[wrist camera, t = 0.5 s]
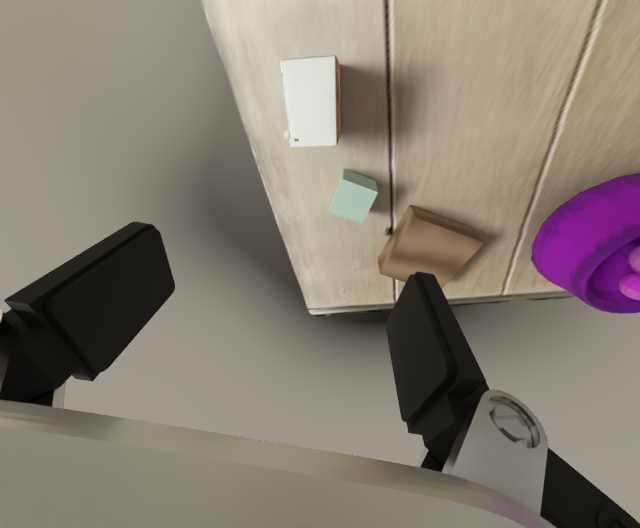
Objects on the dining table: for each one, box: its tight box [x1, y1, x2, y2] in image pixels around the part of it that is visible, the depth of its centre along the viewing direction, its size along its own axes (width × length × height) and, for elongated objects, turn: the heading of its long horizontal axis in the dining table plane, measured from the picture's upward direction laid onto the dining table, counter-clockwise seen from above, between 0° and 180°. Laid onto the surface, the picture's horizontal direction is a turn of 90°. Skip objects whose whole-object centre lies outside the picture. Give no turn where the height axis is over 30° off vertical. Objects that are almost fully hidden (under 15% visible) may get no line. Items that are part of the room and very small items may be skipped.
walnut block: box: [378, 205, 484, 289], centre depth 43 cm, size 12×12×5 cm
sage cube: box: [330, 169, 378, 224], centre depth 38 cm, size 6×6×6 cm
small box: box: [280, 55, 341, 148], centre depth 29 cm, size 8×6×10 cm
